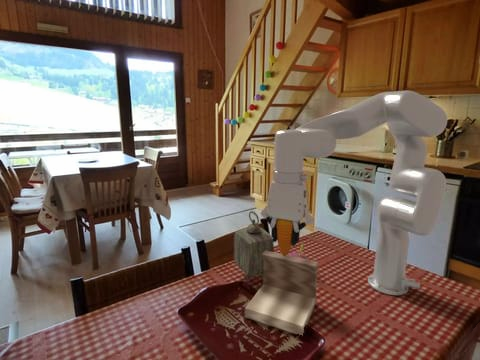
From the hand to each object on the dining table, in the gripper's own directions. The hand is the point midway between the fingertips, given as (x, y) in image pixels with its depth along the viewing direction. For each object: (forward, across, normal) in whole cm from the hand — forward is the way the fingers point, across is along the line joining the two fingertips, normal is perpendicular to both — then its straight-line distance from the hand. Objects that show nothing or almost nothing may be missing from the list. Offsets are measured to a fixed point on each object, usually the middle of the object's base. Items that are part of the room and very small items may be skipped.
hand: (285, 241), depth 82 cm
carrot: (+5, 0, 0) cm, 5 cm away
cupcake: (+24, +3, -28) cm, 37 cm away
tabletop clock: (+24, +16, -16) cm, 33 cm away
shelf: (+24, +1, -2) cm, 24 cm away
